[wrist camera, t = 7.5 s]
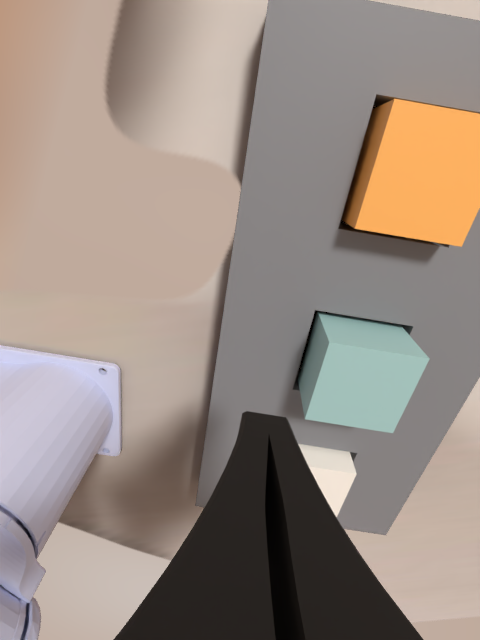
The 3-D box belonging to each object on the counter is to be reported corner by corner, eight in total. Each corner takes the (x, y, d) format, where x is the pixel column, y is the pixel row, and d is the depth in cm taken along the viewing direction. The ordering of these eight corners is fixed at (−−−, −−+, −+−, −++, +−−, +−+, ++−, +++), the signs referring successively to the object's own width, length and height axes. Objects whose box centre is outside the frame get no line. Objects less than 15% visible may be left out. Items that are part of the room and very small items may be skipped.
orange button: (337, 216, 16) (355, 228, 13) (366, 111, 14) (394, 98, 11) (425, 231, 16) (461, 246, 13) (466, 129, 14) (520, 120, 11)
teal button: (298, 379, 19) (304, 419, 16) (317, 311, 17) (329, 342, 14) (372, 391, 19) (392, 433, 16) (400, 325, 17) (429, 358, 14)
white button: (267, 467, 24) (268, 509, 21) (280, 423, 22) (283, 462, 19) (326, 476, 24) (335, 519, 21) (343, 433, 22) (356, 473, 19)
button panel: (200, 481, 25) (195, 505, 23) (269, 8, 13) (271, -18, 11) (376, 508, 25) (385, 535, 23) (613, 70, 13) (670, 55, 11)
